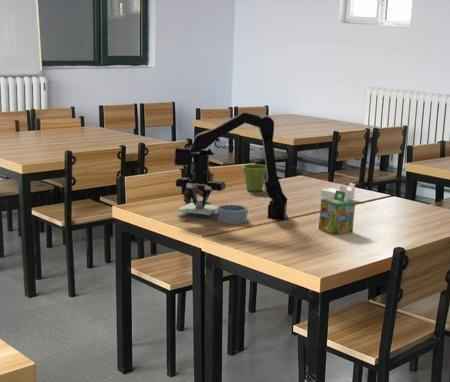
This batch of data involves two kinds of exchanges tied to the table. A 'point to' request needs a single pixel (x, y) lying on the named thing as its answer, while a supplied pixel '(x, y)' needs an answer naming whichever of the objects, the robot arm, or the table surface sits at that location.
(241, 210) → the bowl
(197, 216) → the mat
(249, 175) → the plant pot
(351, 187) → the bracket
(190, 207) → the lid
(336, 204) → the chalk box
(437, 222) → the table surface
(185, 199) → the brown arch
